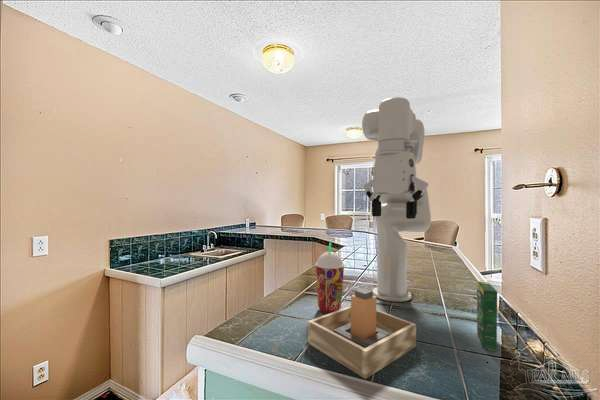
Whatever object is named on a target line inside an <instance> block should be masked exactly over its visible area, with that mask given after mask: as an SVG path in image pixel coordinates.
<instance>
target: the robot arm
mask: <svg viewBox="0 0 600 400" xmlns="http://www.w3.org/2000/svg"><path fill="white" fill-rule="evenodd" d="M361 127H362V132H363V135H364V137H365V139H367V140H370V141H377V149H376V150H375V155H374V159H375V160H374V165H373V172H372V173H373V175H372V179H371V180H370V181H368V182H366V183H365V184H364V185H363V189H364V191H365V194H366V196H367V197H368V198H369V201H370V202H371V216H372V217H374V218H375V226H376V234H377V259H376V260H377V261H376V263H377V266H376V267H377V269H376V270H377V272H376V273H377V274H376V275H377V278H376V282H377V283H376V284H377V285H376V287H374V288H373V289H372V291H373V296H376V297H377V299H379V300H383V301H388V302H396V303H397V302H398V303H401V302H407V301H410V300H411V299H412V293H411V292H410V291H408V290H407V289H408V287H411V286H412V280H407V278H408V277H407V275H408V273H407V271H408V270H407V266H408V264H407V263H408V246H407V242H406V241H405V239H404V238H403V237H402V236H401V234H400V233H402V232H406V233H407V232H408V233H422V232H423V233H425V232H427V231H428V230H429V229H430V227H431V223H432V216H431V208H430V201H429V192H428V187H429V183H428V182H427V181H425V180H422V179H421V178H418V177H417V170H416V169H417V167H416V165H418V164H419V163H421V162H422V161H421V160H422V158H423V151H424V149H423V147H424V141H425V126H424V123H423V121H421V120H420V119H418V118H417V117H416V113H414V112H413V110H412V108H411V106H410V101H409V100H408V99H407V98H404V97H401V96H400V97H399V96H395V97H389V98H386V99H384V100H382V101H380V103H379V105H378V109H372V110H369V111H366V112H365V113H364V115H363V117H362V120H361Z"/></svg>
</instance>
